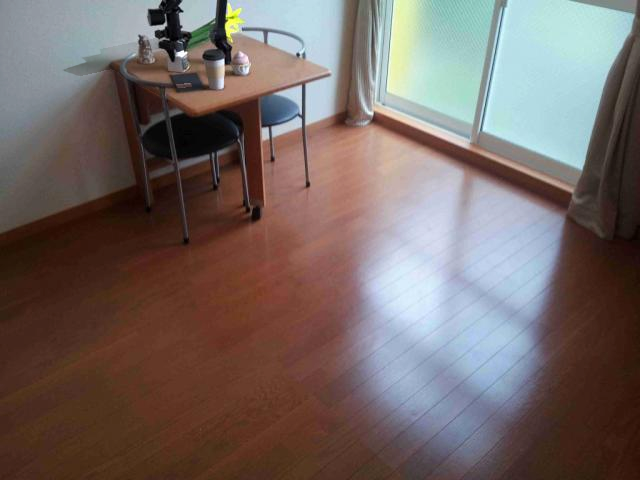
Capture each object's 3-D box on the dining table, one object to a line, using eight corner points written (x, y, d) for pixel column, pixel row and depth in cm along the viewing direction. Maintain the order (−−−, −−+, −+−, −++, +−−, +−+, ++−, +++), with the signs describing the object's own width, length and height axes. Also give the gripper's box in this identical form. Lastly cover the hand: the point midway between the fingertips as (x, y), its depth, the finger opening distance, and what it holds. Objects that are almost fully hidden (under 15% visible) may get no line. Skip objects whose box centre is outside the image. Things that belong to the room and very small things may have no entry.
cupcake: (248, 68, 261) (247, 46, 255) (253, 76, 254) (252, 53, 248) (228, 71, 258) (226, 48, 252) (233, 78, 251) (231, 55, 245)
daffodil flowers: (175, 44, 289) (236, 17, 297) (189, 66, 286) (250, 38, 294) (170, 22, 273) (234, -6, 281) (184, 45, 270) (249, 16, 278)
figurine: (146, 64, 262) (142, 38, 255) (135, 61, 265) (131, 35, 258) (158, 60, 267) (154, 34, 260) (147, 57, 270) (143, 31, 263)
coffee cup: (228, 83, 246) (226, 48, 237) (226, 91, 239) (223, 56, 230) (206, 83, 246) (203, 48, 237) (203, 91, 238) (200, 55, 229)
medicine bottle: (183, 72, 255) (180, 45, 248) (168, 71, 256) (164, 44, 249) (189, 67, 261) (186, 40, 254) (174, 66, 262) (171, 39, 255)
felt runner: (196, 73, 255) (196, 72, 255) (204, 89, 240) (204, 88, 240) (171, 75, 252) (171, 74, 252) (178, 92, 237) (178, 91, 237)
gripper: (168, 15, 256) (173, 50, 265) (145, 26, 241) (150, 63, 251) (190, 19, 253) (194, 54, 262) (167, 30, 239) (172, 67, 248)
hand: (177, 59), depth 256 cm, fingers closed on medicine bottle, 7 cm apart
